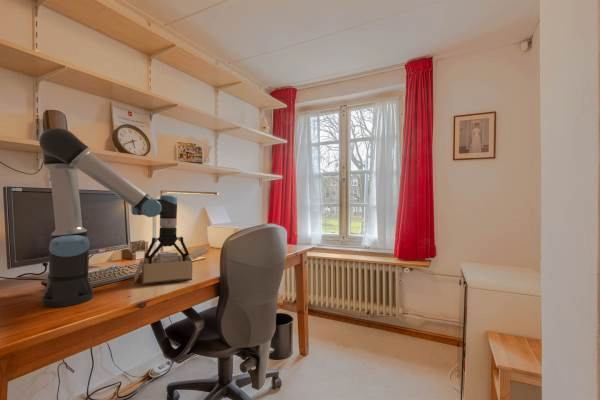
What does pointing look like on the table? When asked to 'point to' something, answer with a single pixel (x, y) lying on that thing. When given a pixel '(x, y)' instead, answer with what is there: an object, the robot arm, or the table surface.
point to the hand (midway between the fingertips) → (167, 271)
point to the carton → (164, 271)
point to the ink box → (167, 257)
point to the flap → (198, 252)
